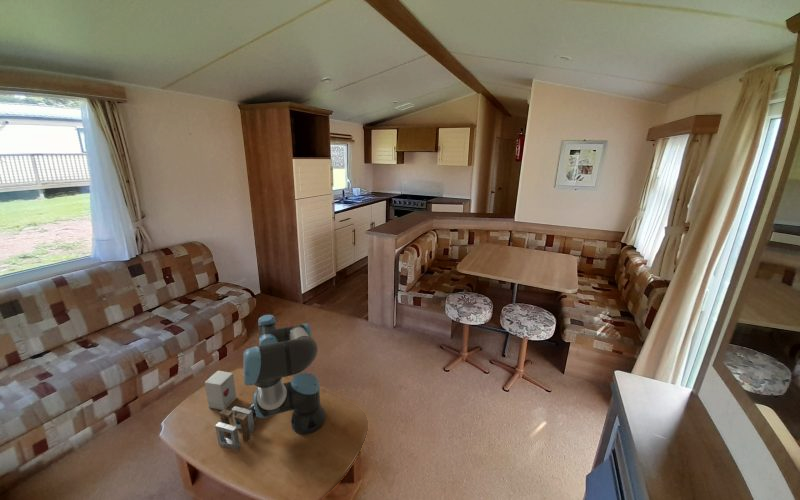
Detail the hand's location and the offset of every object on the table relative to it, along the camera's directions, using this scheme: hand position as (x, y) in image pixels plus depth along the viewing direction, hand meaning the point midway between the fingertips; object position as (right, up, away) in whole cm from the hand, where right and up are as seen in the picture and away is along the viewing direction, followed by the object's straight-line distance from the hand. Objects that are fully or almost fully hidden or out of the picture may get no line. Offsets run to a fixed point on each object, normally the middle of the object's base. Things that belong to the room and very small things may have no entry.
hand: (274, 385), depth 161 cm
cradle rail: (-3, -8, -9) cm, 13 cm away
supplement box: (-24, -7, -4) cm, 25 cm away
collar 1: (-8, -14, -27) cm, 32 cm away
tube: (-4, -6, -11) cm, 13 cm away
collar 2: (-6, -11, -19) cm, 23 cm away
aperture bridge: (-7, -13, -23) cm, 27 cm away
